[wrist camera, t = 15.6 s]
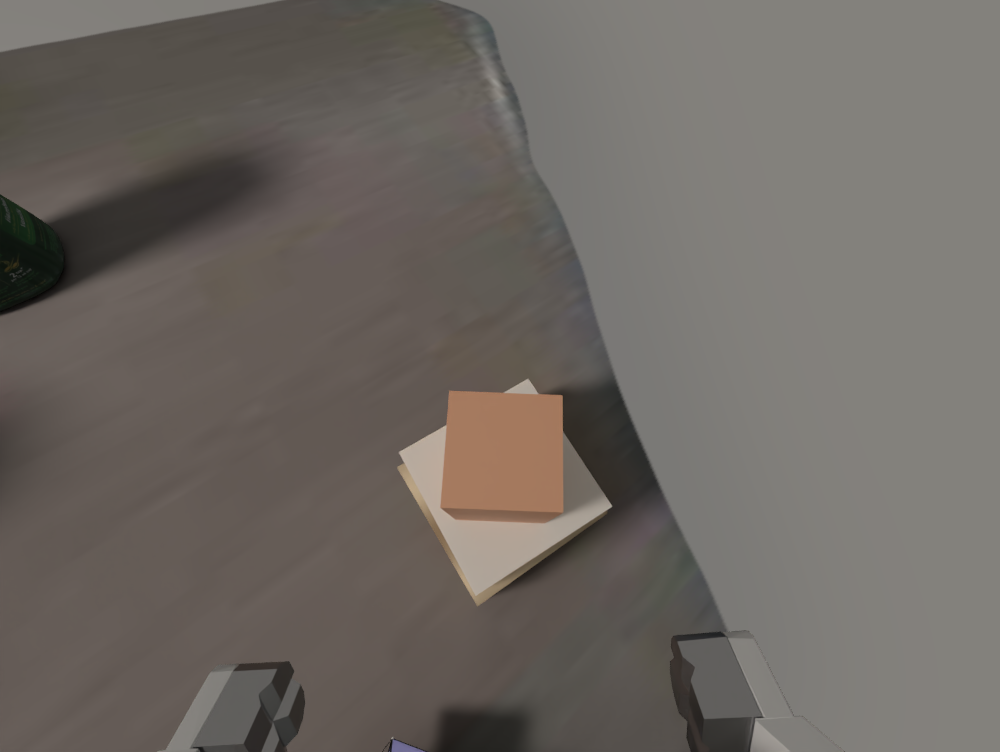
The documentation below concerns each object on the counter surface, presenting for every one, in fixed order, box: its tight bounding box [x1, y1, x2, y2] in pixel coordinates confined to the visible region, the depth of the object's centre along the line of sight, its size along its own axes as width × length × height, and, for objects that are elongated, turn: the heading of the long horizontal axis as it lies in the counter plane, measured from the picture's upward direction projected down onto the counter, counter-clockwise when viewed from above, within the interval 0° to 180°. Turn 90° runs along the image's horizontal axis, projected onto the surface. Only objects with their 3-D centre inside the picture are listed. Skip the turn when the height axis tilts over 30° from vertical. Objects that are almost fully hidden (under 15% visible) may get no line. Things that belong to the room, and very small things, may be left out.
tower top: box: [399, 379, 612, 596], centre depth 30 cm, size 9×9×4 cm
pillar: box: [440, 391, 563, 523], centre depth 24 cm, size 5×5×8 cm
